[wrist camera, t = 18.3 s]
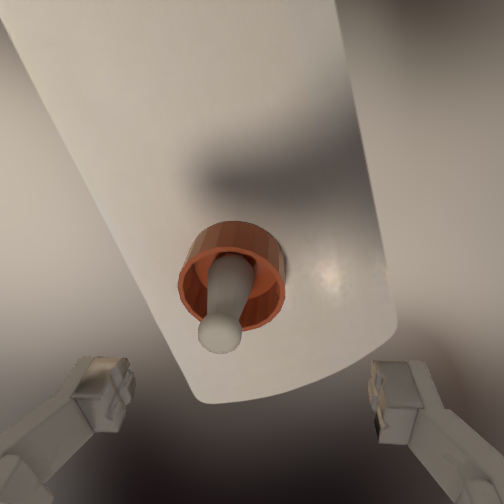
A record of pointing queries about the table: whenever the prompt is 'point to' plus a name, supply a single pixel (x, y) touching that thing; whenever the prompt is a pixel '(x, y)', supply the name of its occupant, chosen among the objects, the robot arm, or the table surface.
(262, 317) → the pot
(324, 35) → the table surface
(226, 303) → the grey rounded piece
